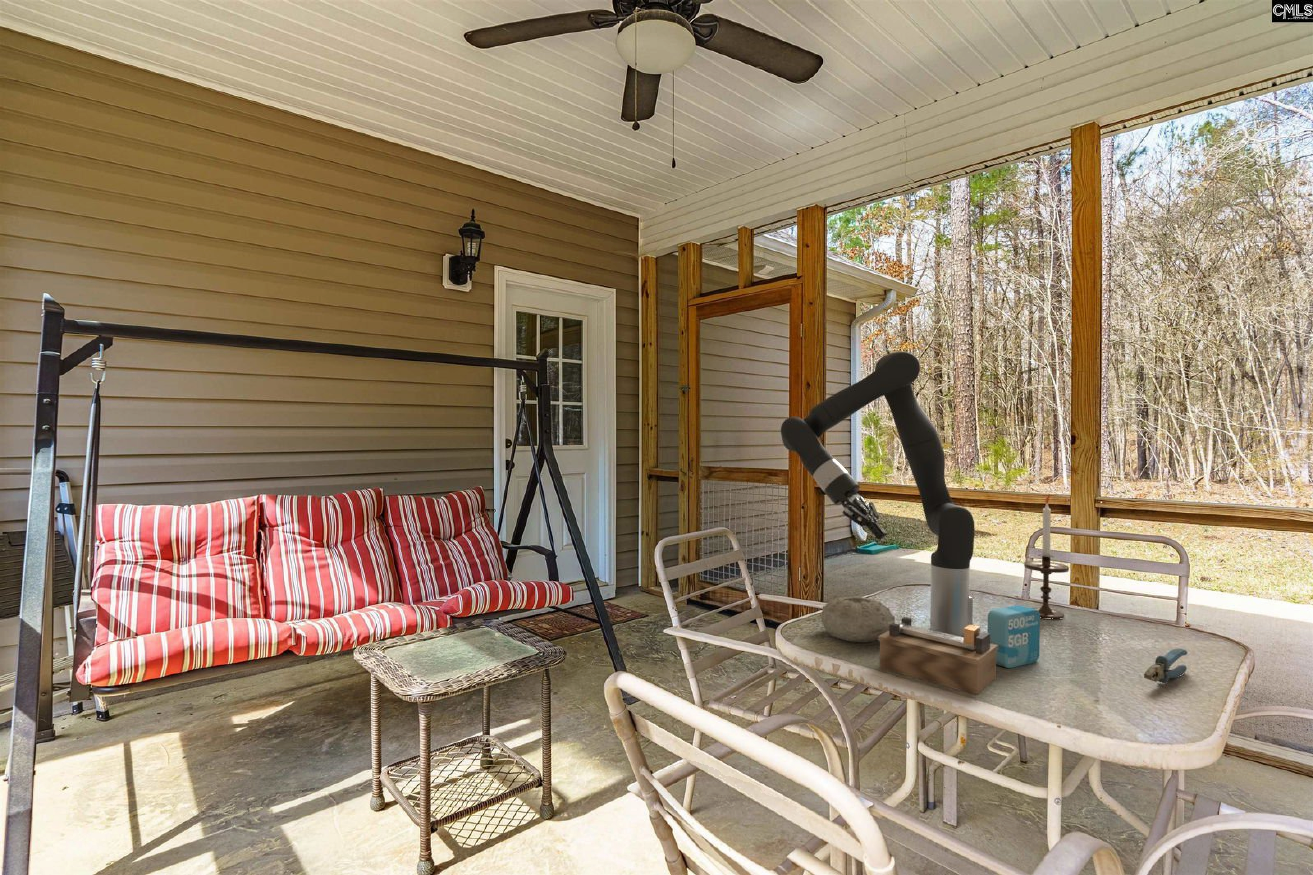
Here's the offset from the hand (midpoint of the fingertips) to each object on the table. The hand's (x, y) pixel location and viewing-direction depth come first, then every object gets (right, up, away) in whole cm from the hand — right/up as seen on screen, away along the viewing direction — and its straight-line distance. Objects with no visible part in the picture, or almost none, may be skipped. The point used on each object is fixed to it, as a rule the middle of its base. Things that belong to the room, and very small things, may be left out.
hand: (883, 537), depth 148 cm
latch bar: (+7, -20, -11) cm, 24 cm away
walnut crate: (+7, -27, -12) cm, 31 cm away
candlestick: (+58, -28, +33) cm, 72 cm away
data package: (+28, -28, -5) cm, 40 cm away
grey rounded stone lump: (-2, -27, +12) cm, 30 cm away
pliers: (+53, -28, -16) cm, 62 cm away
